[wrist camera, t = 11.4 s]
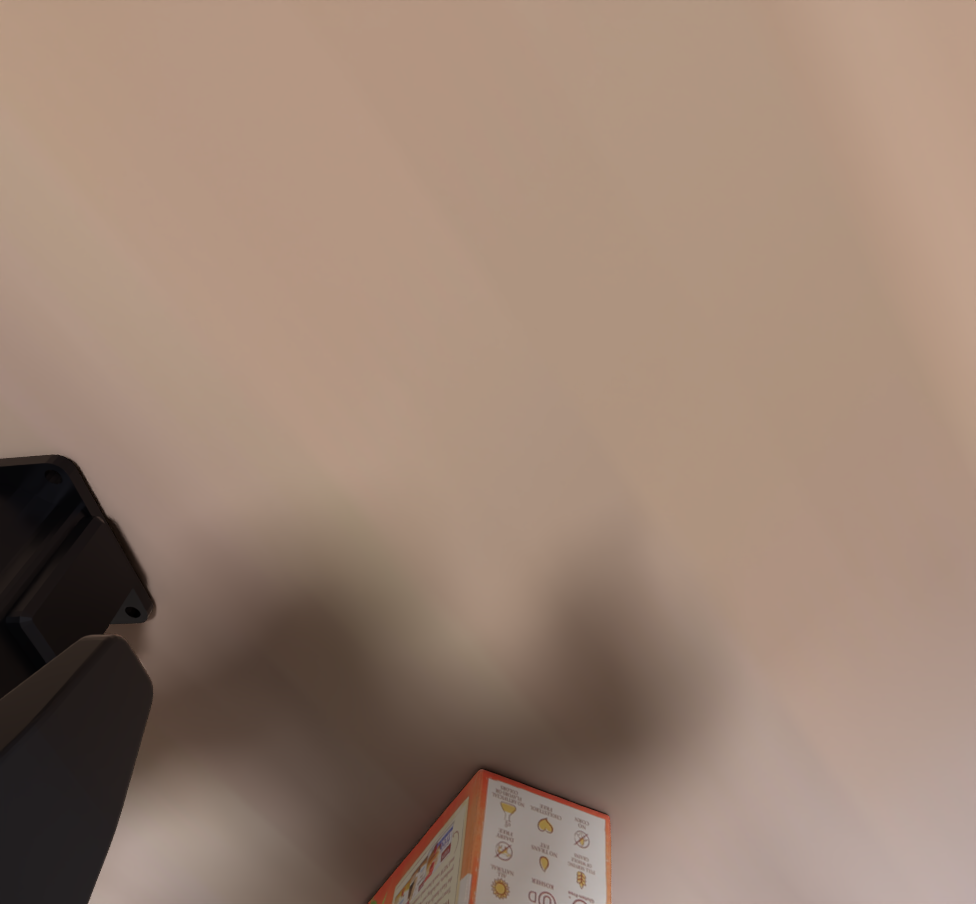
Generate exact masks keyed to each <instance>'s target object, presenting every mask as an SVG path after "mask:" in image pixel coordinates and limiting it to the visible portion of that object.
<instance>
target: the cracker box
mask: <svg viewBox="0 0 976 904" xmlns="http://www.w3.org/2000/svg"><path fill="white" fill-rule="evenodd" d="M368 904H611V837H610V818H609V816H608V815H606V814H603V813H600V812H598V811H595V810H592V809H589V808H586V807H583V806H581V805H578V804H575V803H573V802H570V801H568V800H565V799H562V798H559V797H557V796H554V795H551V794H549V793H546V792H543V791H540V790H538V789H535V788H532V787H530V786H527V785H525V784H522V783H519V782H517V781H514V780H511V779H509V778H506V777H503V776H500V775H498V774H495V773H492V772H489V771H486V770H483V769H481V770H479V771H478V772H477V773H476V774H475V775H474V776H473V778H472V779H471V780H470V781H469V782H468V784H467V785H466V786H465V787H464V788H463V790H462V791H461V792H460V793H459V795H458V796H457V797H456V798H455V799H454V800H453V802H452V803H451V804H450V805H449V806H448V807H447V809H446V810H445V811H444V812H443V813H442V815H441V816H440V817H439V818H438V820H437V821H436V822H435V823H434V824H433V825H432V827H431V828H430V829H429V830H428V831H427V833H426V834H425V835H424V837H423V838H422V839H421V840H420V841H419V843H418V844H417V845H416V846H415V847H414V849H413V850H412V851H411V852H410V854H409V855H408V856H407V857H406V858H405V859H404V860H403V862H402V863H401V864H400V865H399V866H398V868H397V869H396V870H395V871H394V872H393V874H392V875H391V876H390V877H389V878H388V880H387V881H386V882H385V883H384V884H383V886H382V887H381V888H380V889H379V890H378V892H377V893H376V894H375V895H374V897H373V898H372V899H371V900H370V901H369V903H368Z"/></svg>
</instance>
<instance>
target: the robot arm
mask: <svg viewBox="0 0 976 904" xmlns="http://www.w3.org/2000/svg"><path fill="white" fill-rule="evenodd" d="M55 471H56V472H57V473H59V474H60V475H59V474H57V473H56V472H55ZM152 611H153V603H152V601H151V600H150V598H149V596H148V594H147V592H146V591H145V589H144V587H143V585H142V584H141V582H140V580H139V578H138V576H137V575H136V573H135V571H134V569H133V568H132V566H131V564H130V562H129V561H128V559H127V557H126V555H125V553H124V552H123V550H122V548H121V546H120V545H119V543H118V541H117V539H116V537H115V536H114V534H113V532H112V530H111V529H110V527H109V525H108V523H107V521H106V520H105V518H104V516H103V514H102V513H101V511H100V509H99V507H98V505H97V504H96V502H95V500H94V498H93V497H92V495H91V493H90V491H89V490H88V488H87V486H86V484H85V482H84V481H83V479H82V477H81V475H80V474H79V472H78V470H77V468H76V467H75V465H74V464H73V463H72V462H71V461H70V460H68V459H67V458H65V457H62V456H60V455H42V456H30V457H17V458H5V459H0V904H88V902H89V899H90V897H91V894H92V892H93V889H94V887H95V884H96V881H97V879H98V876H99V874H100V871H101V868H102V866H103V863H104V861H105V858H106V856H107V853H108V850H109V847H110V845H111V842H112V839H113V836H114V834H115V831H116V828H117V824H118V821H119V818H120V815H121V811H122V808H123V805H124V801H125V798H126V794H127V790H128V787H129V783H130V780H131V776H132V772H133V769H134V765H135V762H136V758H137V755H138V751H139V747H140V744H141V740H142V737H143V733H144V730H145V726H146V722H147V719H148V715H149V712H150V708H151V704H152V700H153V686H152V682H151V679H150V677H149V675H148V674H147V672H146V670H145V669H144V667H143V666H142V664H141V662H140V661H139V659H138V657H137V656H136V654H135V652H134V651H133V649H132V648H131V646H130V644H129V643H128V641H127V640H126V639H125V638H124V637H122V636H120V635H117V634H104V632H105V631H106V629H107V628H108V626H109V624H128V623H142V622H145V621H146V620H147V619H148V617H149V616H150V614H151V612H152Z"/></svg>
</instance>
